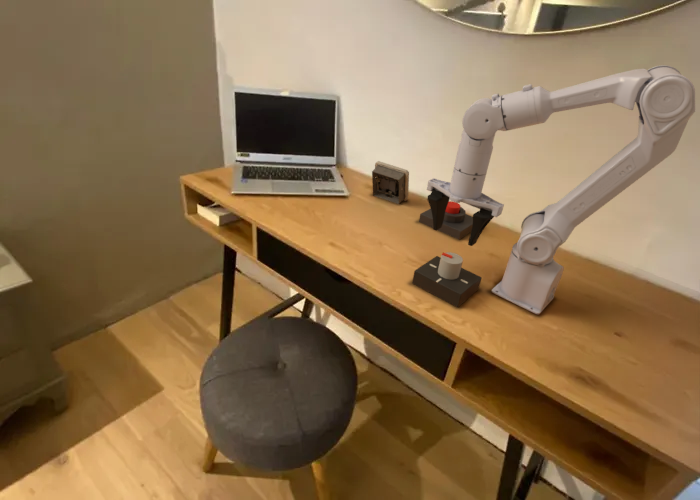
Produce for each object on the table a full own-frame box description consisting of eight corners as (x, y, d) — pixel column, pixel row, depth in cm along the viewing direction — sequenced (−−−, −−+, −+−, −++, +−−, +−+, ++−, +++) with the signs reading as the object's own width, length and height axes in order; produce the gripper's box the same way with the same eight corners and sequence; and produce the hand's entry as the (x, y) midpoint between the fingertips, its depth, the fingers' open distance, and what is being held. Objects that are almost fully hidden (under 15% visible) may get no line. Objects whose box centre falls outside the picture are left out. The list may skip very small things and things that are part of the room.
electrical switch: (408, 200, 122) (412, 168, 117) (398, 209, 119) (402, 175, 113) (377, 190, 126) (379, 158, 121) (367, 198, 123) (369, 165, 117)
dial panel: (478, 289, 90) (482, 276, 89) (457, 308, 85) (460, 293, 83) (434, 267, 96) (437, 254, 94) (411, 283, 90) (414, 269, 89)
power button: (461, 211, 111) (463, 205, 110) (454, 216, 109) (455, 209, 108) (448, 206, 113) (450, 199, 112) (440, 210, 111) (442, 204, 110)
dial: (462, 272, 89) (466, 255, 87) (454, 282, 86) (458, 265, 84) (442, 265, 91) (446, 248, 89) (434, 274, 88) (438, 257, 86)
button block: (477, 227, 113) (481, 212, 111) (458, 239, 107) (462, 224, 105) (438, 211, 119) (441, 196, 117) (418, 221, 113) (421, 206, 110)
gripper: (423, 161, 84) (411, 228, 91) (498, 188, 77) (478, 258, 84) (443, 153, 89) (430, 217, 96) (515, 178, 82) (496, 245, 89)
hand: (454, 236), depth 90 cm, fingers open, 7 cm apart
